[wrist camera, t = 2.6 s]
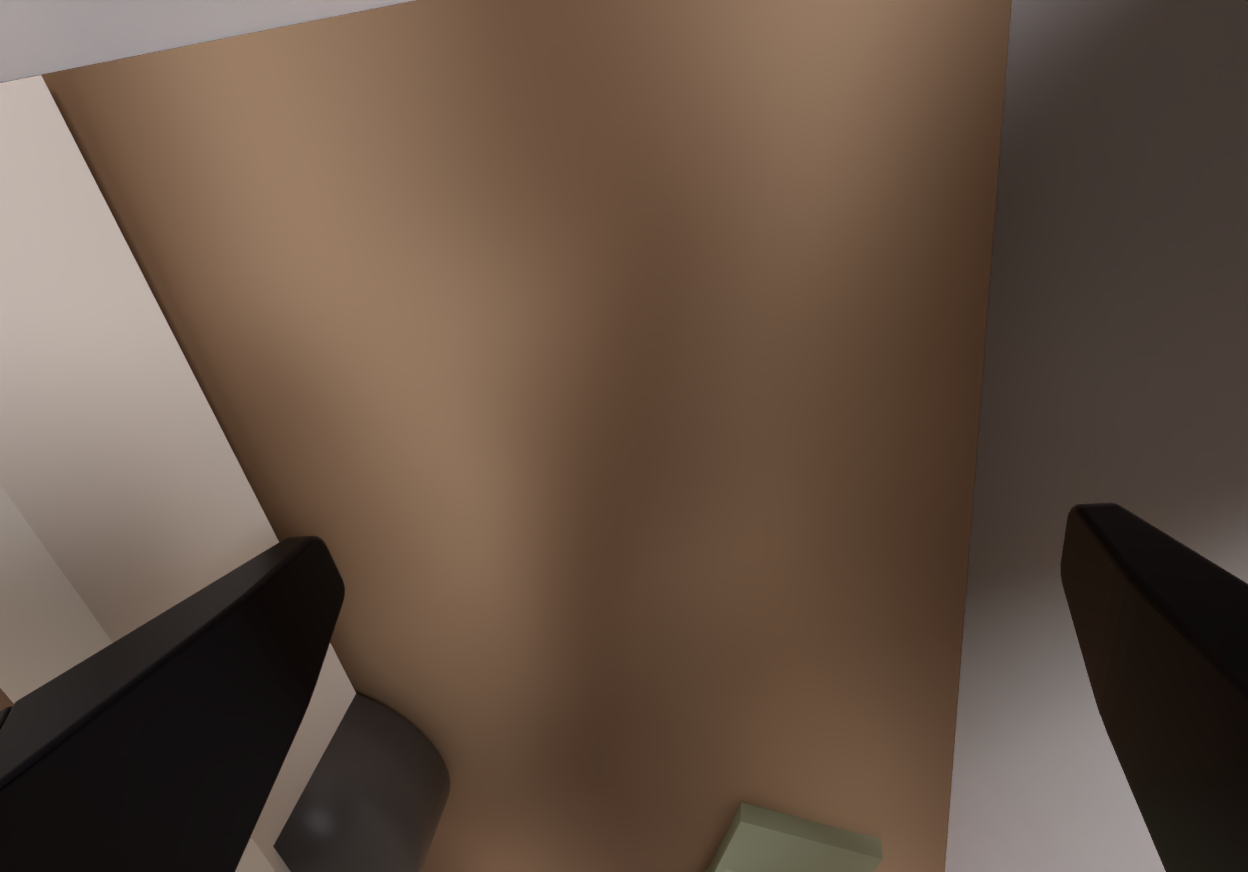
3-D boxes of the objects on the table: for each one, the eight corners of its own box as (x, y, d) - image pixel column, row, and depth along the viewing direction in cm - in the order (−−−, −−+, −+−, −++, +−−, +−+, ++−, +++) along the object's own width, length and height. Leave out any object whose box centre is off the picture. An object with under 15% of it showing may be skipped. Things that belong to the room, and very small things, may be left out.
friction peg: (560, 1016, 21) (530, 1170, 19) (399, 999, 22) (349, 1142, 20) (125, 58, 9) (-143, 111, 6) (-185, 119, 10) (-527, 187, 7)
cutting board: (990, -114, 8) (1032, -122, 7) (922, 1007, 21) (932, 1079, 20) (-513, 184, 13) (-654, 212, 12) (166, 933, 26) (134, 986, 25)
